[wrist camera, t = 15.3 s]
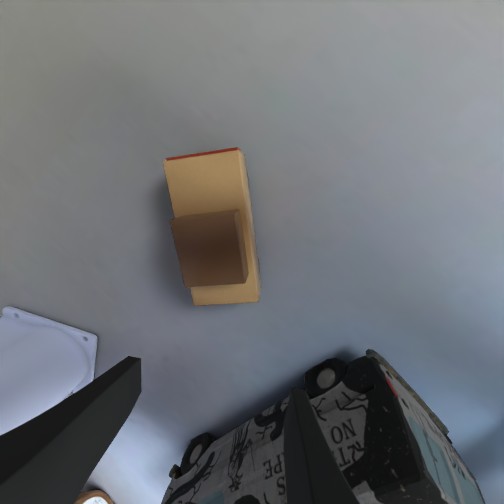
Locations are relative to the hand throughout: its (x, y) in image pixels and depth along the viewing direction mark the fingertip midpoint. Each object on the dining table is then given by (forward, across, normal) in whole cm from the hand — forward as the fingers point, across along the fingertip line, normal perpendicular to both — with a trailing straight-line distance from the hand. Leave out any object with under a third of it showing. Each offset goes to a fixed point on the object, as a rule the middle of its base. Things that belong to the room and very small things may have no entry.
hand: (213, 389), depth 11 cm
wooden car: (+10, +2, -6) cm, 11 cm away
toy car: (+10, -7, +14) cm, 19 cm away
